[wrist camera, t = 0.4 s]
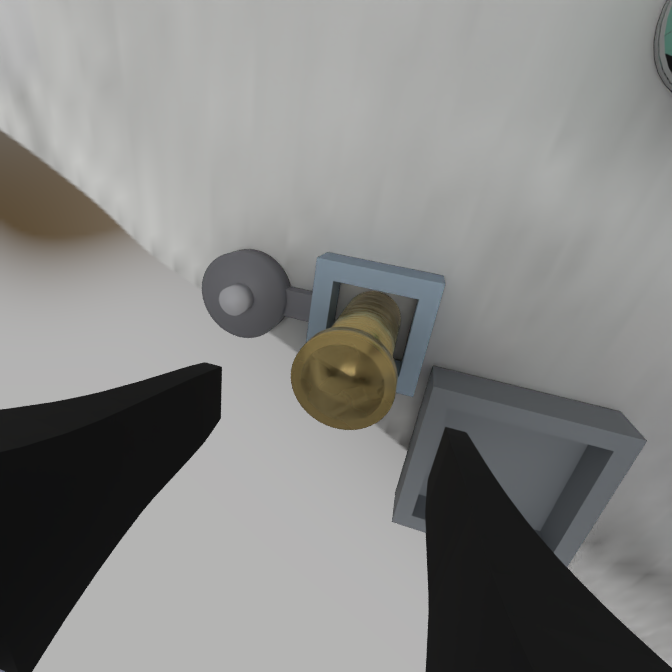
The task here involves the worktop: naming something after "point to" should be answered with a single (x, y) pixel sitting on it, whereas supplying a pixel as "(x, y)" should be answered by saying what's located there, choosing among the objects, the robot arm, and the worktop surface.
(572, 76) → the worktop surface
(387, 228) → the worktop surface
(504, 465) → the tray
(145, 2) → the worktop surface
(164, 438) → the robot arm
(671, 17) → the spray can
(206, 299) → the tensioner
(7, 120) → the worktop surface
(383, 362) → the pin
